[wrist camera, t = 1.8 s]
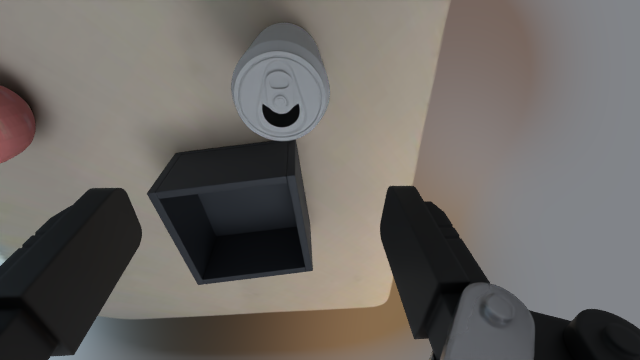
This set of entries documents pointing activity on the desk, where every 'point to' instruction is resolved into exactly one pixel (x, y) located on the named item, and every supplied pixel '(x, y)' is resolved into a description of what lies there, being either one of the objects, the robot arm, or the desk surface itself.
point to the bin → (236, 211)
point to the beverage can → (281, 83)
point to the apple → (14, 124)
